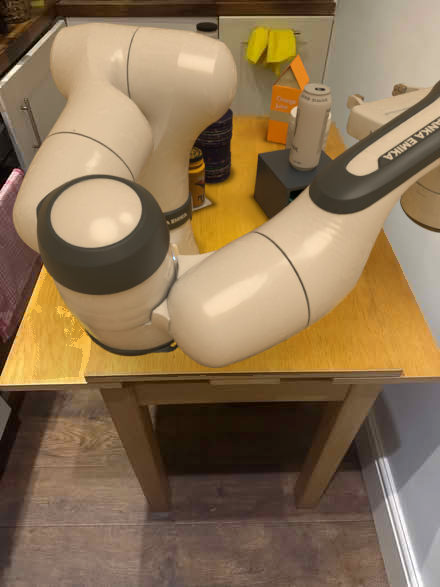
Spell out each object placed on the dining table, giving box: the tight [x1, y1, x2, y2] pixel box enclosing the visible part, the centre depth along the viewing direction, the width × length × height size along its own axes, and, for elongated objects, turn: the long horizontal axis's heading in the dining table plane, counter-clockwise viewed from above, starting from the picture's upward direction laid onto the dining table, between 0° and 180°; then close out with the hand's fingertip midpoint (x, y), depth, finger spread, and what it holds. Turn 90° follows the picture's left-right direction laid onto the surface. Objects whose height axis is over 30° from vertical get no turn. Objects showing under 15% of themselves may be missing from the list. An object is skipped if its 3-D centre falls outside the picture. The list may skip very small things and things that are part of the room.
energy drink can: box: [289, 82, 333, 171], centre depth 78 cm, size 6×6×15 cm
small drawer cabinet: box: [253, 148, 333, 220], centre depth 88 cm, size 14×14×11 cm
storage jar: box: [193, 107, 234, 185], centre depth 96 cm, size 10×10×15 cm
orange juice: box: [266, 53, 310, 145], centre depth 108 cm, size 8×9×20 cm
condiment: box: [189, 147, 213, 211], centre depth 88 cm, size 7×8×12 cm
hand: (374, 94), depth 63 cm, fingers open, 8 cm apart
